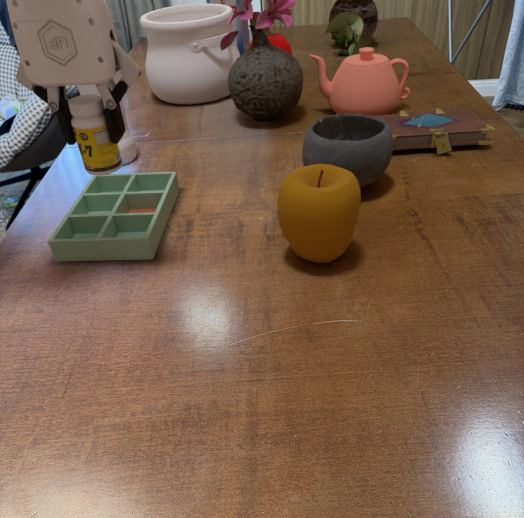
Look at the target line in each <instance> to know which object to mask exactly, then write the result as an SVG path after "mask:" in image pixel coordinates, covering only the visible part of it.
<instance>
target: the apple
mask: <svg viewBox="0 0 524 518" xmlns="http://www.w3.org/2000/svg"><path fill="white" fill-rule="evenodd" d="M361 193H362V192H361V188H360V186H359V183H358V180H357V179H356V177H355V176H354V174H353V173H352V172H350V171H348V170H346V169H343V168H340V167H337V166H333V165H328V164H314V165H308V166H304V165H303V166H300V167H298V168H296V169H294V170H292V171H290V172H289V173H288V174H286V175H284V177H283V178H282V180H281V182H280V185H279V188H278V194H277V195H278V197H277V200H276V201H277V202H276V210H277V213H276V214H277V219H278V224H279V227H280V229H281V231H282V234H283V237H284V238H285V240H286V242H287V243H288V245H289V246H290V248H291V250H292V251H293V252H294V254H295V255H296V256H297V257H299V258H302V259H304V260H307V261H310V262H313V263H317V264H318V263H319V264H325V263H331V262H332V261H334V260H336V259H338V258H339V257H341V256H342V255H343V254H344V253H345V252H346V250H347V249H348V247H349V245H350V243H351V241H352V239H353V235H354V233H355V230H356V227H357V222H358V219H359V214H360V210H361V205H362V196H361Z"/></svg>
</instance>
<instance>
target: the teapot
mask: <svg viewBox="0 0 524 518" xmlns="http://www.w3.org/2000/svg"><path fill="white" fill-rule="evenodd" d="M374 52H375V47H364V48H361V49H359V54H356V55H351V56H347V57H345V58H344V59H343V60H342V62H341V63H340V65H339V67H338V68H337V70H336V72H335V73H334V76H333V78H332V80H331V81H330V80H329V79H328V76H327V68H326V67H327V66H326V62H325V60H324V58H323V57H322V56H319V55H316V54H310V53H309V54H308V55H309V56H310V57H311V58H312V60H314V61H315V63H316V67H317V78H318V79H317V80H318V88H319V91H320V93H321V95H322V96H323V97H324V98H325V99H326V100H327V102H328V105H329V107H330V109H332V110H333V112H334V113H335V115H337V114H363V115H369V116H375V115H389V114H391V113H392V111H393V110H394V109H395V108H396V107H397V105H398V104H399V103H400V102H399V101H404V100H407V99H409V97H410V94H411V90H410V88H409V87H408V86H405V85H406V82H407V80H408V77H409V74H410V67H409V63H408V62H407V61H406V60H405V59H403V58H401V57H400V58H399V57H395V58H393V59H391V60H390V59H389V58H388V56H386V55H384V54H380V53H374ZM394 65H402V66H403V69H404V70H403V75H402V78H401V80H400V83H399V79H398V75H397V74H396V71H395V68H394ZM404 91H405V92H406V93H404V94H403V92H404Z"/></svg>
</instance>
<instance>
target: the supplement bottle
mask: <svg viewBox="0 0 524 518" xmlns="http://www.w3.org/2000/svg"><path fill="white" fill-rule="evenodd" d="M68 104H69V108H70V112H71V115H72V116H74V117H73V118H72V120H71V125H72V129H73V131H74V135H75V138H76V141H77V142H76V144H77V147H78V151H79V153H80V157H81V160H82V163H83V167H84V169H85V171H86V173H87V174H90V175H92V176H93V175H107V174H114V173H115V172H117V171H119V170H120V169H121V168H122V166H123V165H122V160H121V156H120V152H119V148H118V144H113V143H111V141H110V137H109V133H108V130H107V126H106V122H105V118H104V114H103V110H104V109H105V106H104V103H103V99H102V97H101V96H100V95H95V94H88V95H76V96H74V97H72V98H70V99H68Z"/></svg>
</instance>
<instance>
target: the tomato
mask: <svg viewBox="0 0 524 518" xmlns="http://www.w3.org/2000/svg"><path fill="white" fill-rule="evenodd" d="M266 35H267V36H268V38H269V41H270V43H271V44H272V45H274V46H276V47H278V48H280V49H282V50H285V51H287V52H288V53H290V54H291V55H292V56H293V51H292V46H291V45H290V43H289V41H288V39H287V38H286V36H285V35H283V34H281V33H280V32H271V31H270V34H269V33H266ZM252 40H253V38H252V39H251V40H250V45H249V48H250V47H251V45H252Z"/></svg>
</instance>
